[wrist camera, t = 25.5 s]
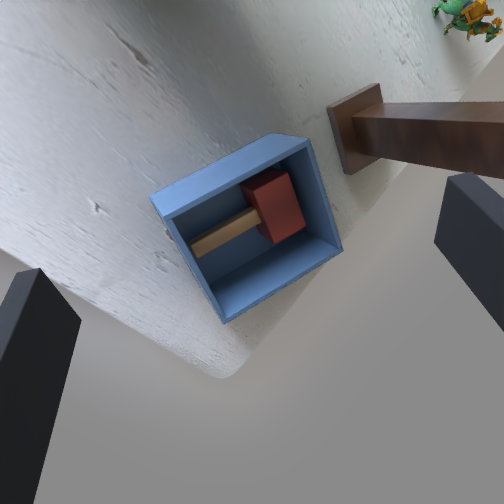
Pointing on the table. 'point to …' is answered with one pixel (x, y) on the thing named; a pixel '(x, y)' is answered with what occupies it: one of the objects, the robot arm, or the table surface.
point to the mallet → (257, 212)
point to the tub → (251, 241)
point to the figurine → (470, 17)
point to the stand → (419, 133)
